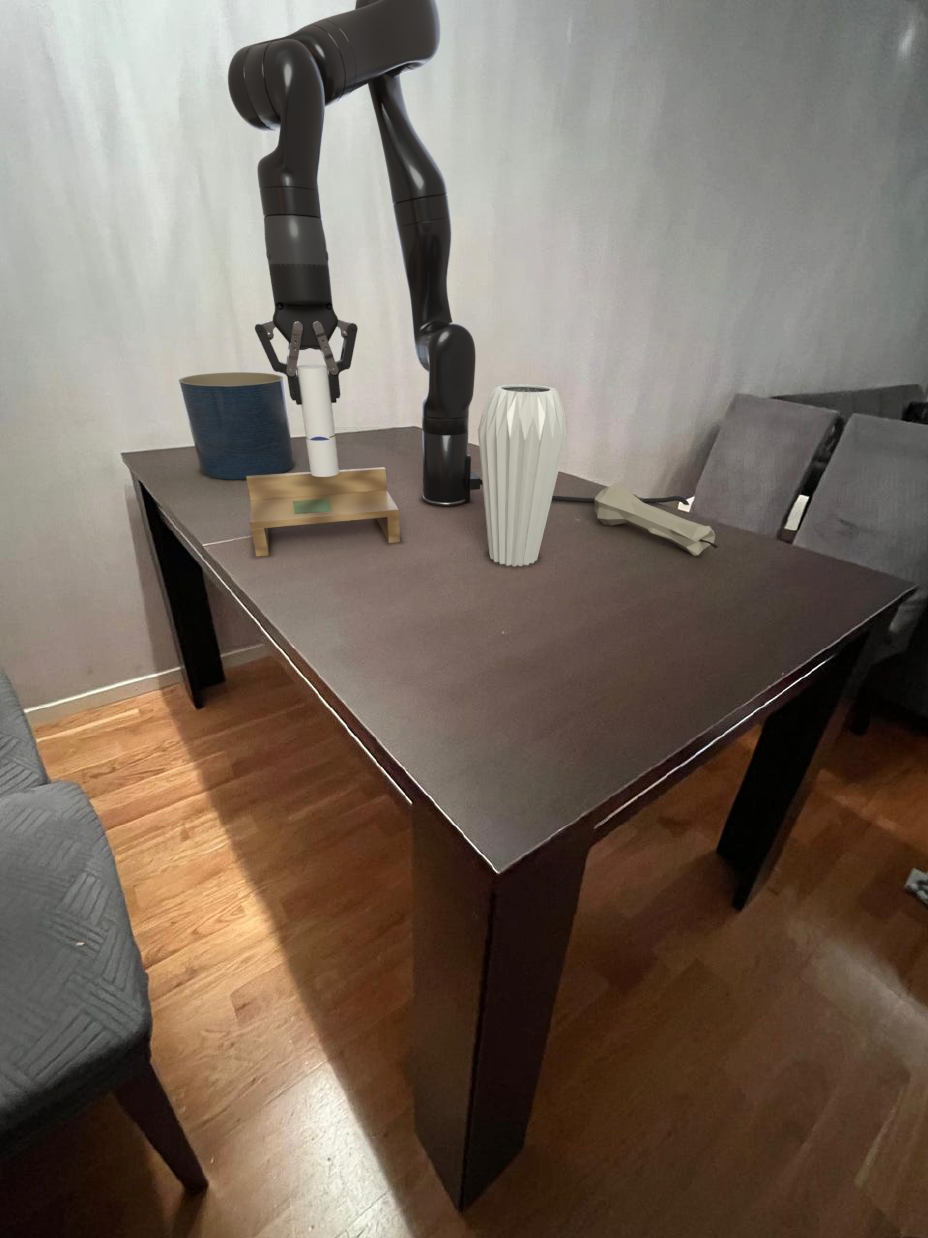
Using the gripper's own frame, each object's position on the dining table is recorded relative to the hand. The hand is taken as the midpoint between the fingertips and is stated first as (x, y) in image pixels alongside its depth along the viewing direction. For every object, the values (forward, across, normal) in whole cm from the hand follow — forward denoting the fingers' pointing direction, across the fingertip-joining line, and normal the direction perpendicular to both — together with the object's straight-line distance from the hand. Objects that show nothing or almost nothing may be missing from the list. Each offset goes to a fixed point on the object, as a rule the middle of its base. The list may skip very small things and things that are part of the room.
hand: (316, 402), depth 79 cm
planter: (+24, +13, -57) cm, 63 cm away
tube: (+10, 0, 0) cm, 10 cm away
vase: (+24, -28, +10) cm, 39 cm away
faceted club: (+25, -55, +10) cm, 61 cm away
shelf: (+24, 0, -8) cm, 25 cm away
